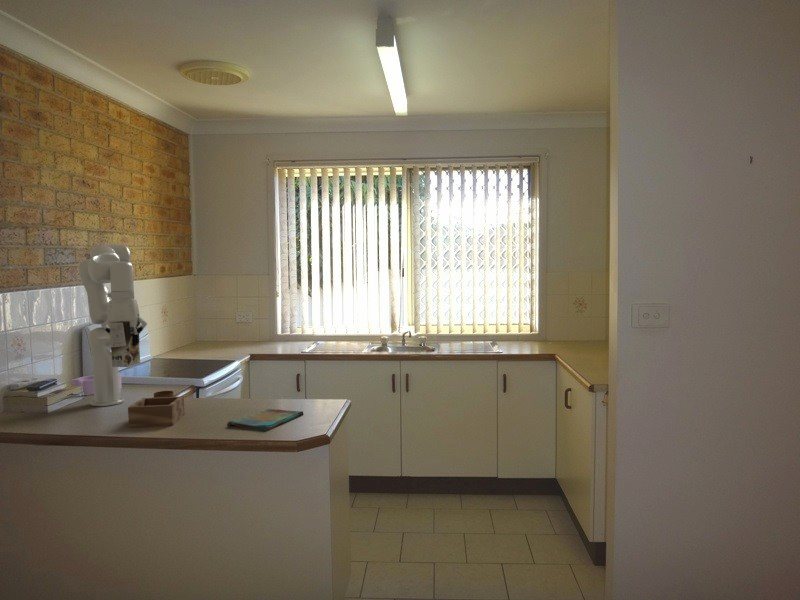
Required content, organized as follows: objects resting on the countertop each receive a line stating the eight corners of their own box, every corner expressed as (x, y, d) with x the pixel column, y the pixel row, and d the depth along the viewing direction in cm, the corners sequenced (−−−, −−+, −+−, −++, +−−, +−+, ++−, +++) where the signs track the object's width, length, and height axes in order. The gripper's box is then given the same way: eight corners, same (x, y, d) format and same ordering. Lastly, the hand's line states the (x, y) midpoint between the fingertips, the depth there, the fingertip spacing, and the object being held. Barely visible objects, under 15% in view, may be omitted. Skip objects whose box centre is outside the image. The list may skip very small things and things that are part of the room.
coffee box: (129, 367, 217) (126, 321, 216) (111, 367, 218) (108, 322, 217) (141, 363, 226) (138, 319, 225) (124, 363, 227) (121, 319, 226)
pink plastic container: (112, 386, 292) (111, 372, 292) (126, 389, 285) (125, 374, 284) (69, 394, 276) (68, 379, 276) (82, 397, 269) (81, 381, 269)
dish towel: (225, 428, 212) (224, 421, 212) (266, 412, 234) (266, 406, 233) (266, 433, 205) (265, 425, 205) (305, 416, 226) (304, 409, 226)
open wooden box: (143, 416, 230) (142, 398, 230) (184, 414, 232) (183, 396, 231) (129, 427, 216) (127, 407, 215) (172, 425, 217) (171, 405, 216)
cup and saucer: (169, 412, 237) (168, 396, 237) (141, 411, 240) (140, 395, 239) (186, 404, 249) (185, 389, 249) (159, 404, 252) (158, 389, 251)
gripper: (93, 297, 216) (96, 348, 218) (143, 295, 217) (146, 346, 218) (102, 296, 224) (105, 345, 225) (151, 294, 225) (153, 343, 226)
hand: (125, 345), depth 222 cm, fingers closed on coffee box, 6 cm apart
